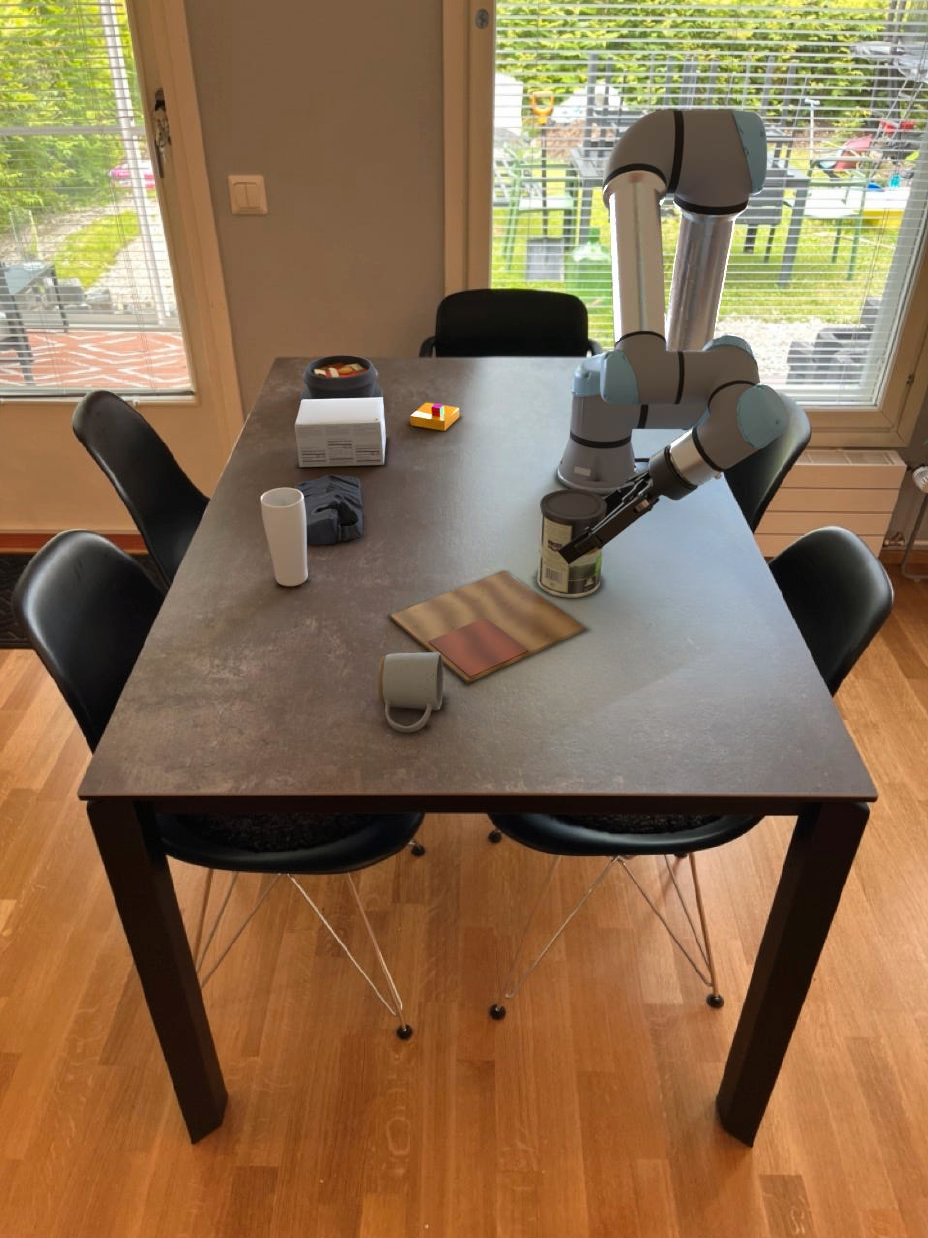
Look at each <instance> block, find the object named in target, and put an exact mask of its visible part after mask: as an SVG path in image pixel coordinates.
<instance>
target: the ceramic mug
mask: <svg viewBox="0 0 928 1238" xmlns="http://www.w3.org/2000/svg"><path fill="white" fill-rule="evenodd" d="M379 661H380V662H379V666H378V674H377V693H378V698H379V701H380V703H381V704H382V705H383V706H384V713H385V718H386V721H387V724H389V726H390V727H391V728H392V729H393V730H395V731H397V732H400V733H407V734H408V733H414V732H417V731H419V730H420V729H422V728H423V727H424V726H425V725H426V723H427V722H428V720H429V717H430V716H431V713H432V711H436V712H437V711H439V710H440V709H441V706H442V702H443V695H444V664H443V661H442V656H441V654H440V653H439V652H394V653H388V654H386V655H384V656H382V657H381V659H380V660H379ZM390 708H398V709H411V710H421V711H422V710H423V711H425V712H424V713H423V715H422V717H421V718H419V720H417V721H416V722H415V723H413V724H411V725H409V726H408V725H407V726H406V725H402V724H400V723H398V722H395V720H393V719H392V718H391V716H390Z"/></svg>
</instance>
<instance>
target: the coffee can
mask: <svg viewBox="0 0 928 1238" xmlns="http://www.w3.org/2000/svg"><path fill="white" fill-rule="evenodd" d="M603 498H604V497H602V496H600V494H595V493H592V492H589V491H585V490H578V489H571V488H566V489H565V488H563V489H558V490H554V491H551V492H549V493H547V494H545V495H544V496H542V498H541V500H540V501H539V510H540V517H539V518H540V519H539V539H538V540H539V542H538V564H537V565H538V567H537V578H536V581H537V584H538V586H539V587H540V589H542V590H543V591H544V592H546V593H548V594H550V595H552V596H555V597H561V598H573V599H574V598H582V597H585V596H589V595H591V594H593V593H594V592H596V591H597V590H598V589H599V587H600V585H601V571H602V560H603V548H602V549H599V550H598V549H597V547H595V548H594V549H592V550H591V551H589V552H588V553H586V554H584V555H583V556H581V557H580V558H578V559H577V560H575V561H574V562H572V563H570V564H568V563H567V562H566V561H565V559H564V558H563V557H562V556H561V555H560V554H559V552H558V550H559V549H560V548H561V547H563V546H564V545H566V544H567V543H569V542H570V541H572V540H573V539H575V538H576V537H578V536H579V535H581V534H582V533H584V532H585V531H586V530H585V529H586V528H587V527H590V528H591V529H593V528H594V527H595V526H596V525H598V524H599V523H600V522H601V521H602V520H603V519H604V518H605V515H606V511H607V503H606V501H605V500H604V499H603Z"/></svg>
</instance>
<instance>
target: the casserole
mask: <svg viewBox="0 0 928 1238" xmlns="http://www.w3.org/2000/svg"><path fill="white" fill-rule="evenodd" d="M378 377H379V372H378V370H377V369H376V368H375V365H374V364H373V362H372V361H371V360H370V359H367V358H365V357H362V356H358V355H348V354H347V355H346V354H345V355H344V354H343V355H342V354H341V355H340V354H339V355H330V356H325V357H321V358H317V359H314V360H312V361H311V362H308V363H307V365H306V367H305V370H304V373H303V374H302V376H301V380H302V382H303V383H304V384H305V385H306V387H305V388H304V389H303V390H302V391H301V392H300V395H299V396H300V400H301V401H302V400H309V399H346V398H379V397H383V395H384V390H383V388H382V387H381V386H380V385H379V384H377V383H376V381H377V379H378Z"/></svg>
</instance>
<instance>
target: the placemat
mask: <svg viewBox="0 0 928 1238" xmlns="http://www.w3.org/2000/svg"><path fill="white" fill-rule="evenodd" d="M390 619H391V620H392V621H393V622H395V623H396V624H397V625H398V626H399V627H400V628H401V629H402V630H404V631H405V632H406V633H407V634H409V635H410V637H412V638H413V639H414V640H415V641H416V642H418V644H420V645H421V646H423V647H424V648H425V649H426V650H427V651H428V652H429V653H431V652H439V653H440V654H441V656H442V661H443V665H444V666H445V667H447V668H448V669H449V670H450V671H452V673H453V674H455V675H456V676H457V677H458V678H459V679H460V680H462V681H463V682H464V683H466V684H470V683H473V682H474V681H477V680H479V679H481V678H484V677H486V676H487V675H490V674H492V673H494V672H496V671H498V670H502V669H503V668H505V667H508V666H509V665H511V664H514V663H516V662H518V661H521V660H523V659H525V658H527V657H529V656H531V655H533V654H536V653H538V652H540V651H542V650H544V649H546V648H549V647H551V646H553V645H555V644H558V643H560V642H562V641H564V640H567V639H569V638H571V637H573V636H575V635H578V634H579V633H582V632H584V631H586V626H585V625H583V624H582V623H580V622H579V621H578V620H576V619H574V618H573V617H572V616H570V615H569V614H567V612H565V611H563V610H562V609H560V608H559V607H557V606H556V605H554V604H553V603H552V602H550V601H549V600H547V599H546V598H544V597H543V596H542V595H540V594H539V593H537V592H536V591H534V590H533V589H531V588H530V587H529V586H527V585H526V584H524V583H523V582H521V581H520V580H518V579H517V578H516V577H514V576H513V575H511V574H510V573H509V572H507V571H505V570H501V571H499V572H496V573H494V574H491V575H488V576H486V577H483V578H481V579H478V580H476V581H474V582H471V583H469V584H465V585H463V586H461V587H458V588H456V589H453V590H451V591H449V592H445V593H443V594H441V595H438V596H435V597H433V598H431V599H428V600H426V601H422V602H420V603H418V604H415V605H412V606H410V607H408V608H405V609H402V610H400V611H398V612H395V613H392V614H390Z"/></svg>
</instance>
